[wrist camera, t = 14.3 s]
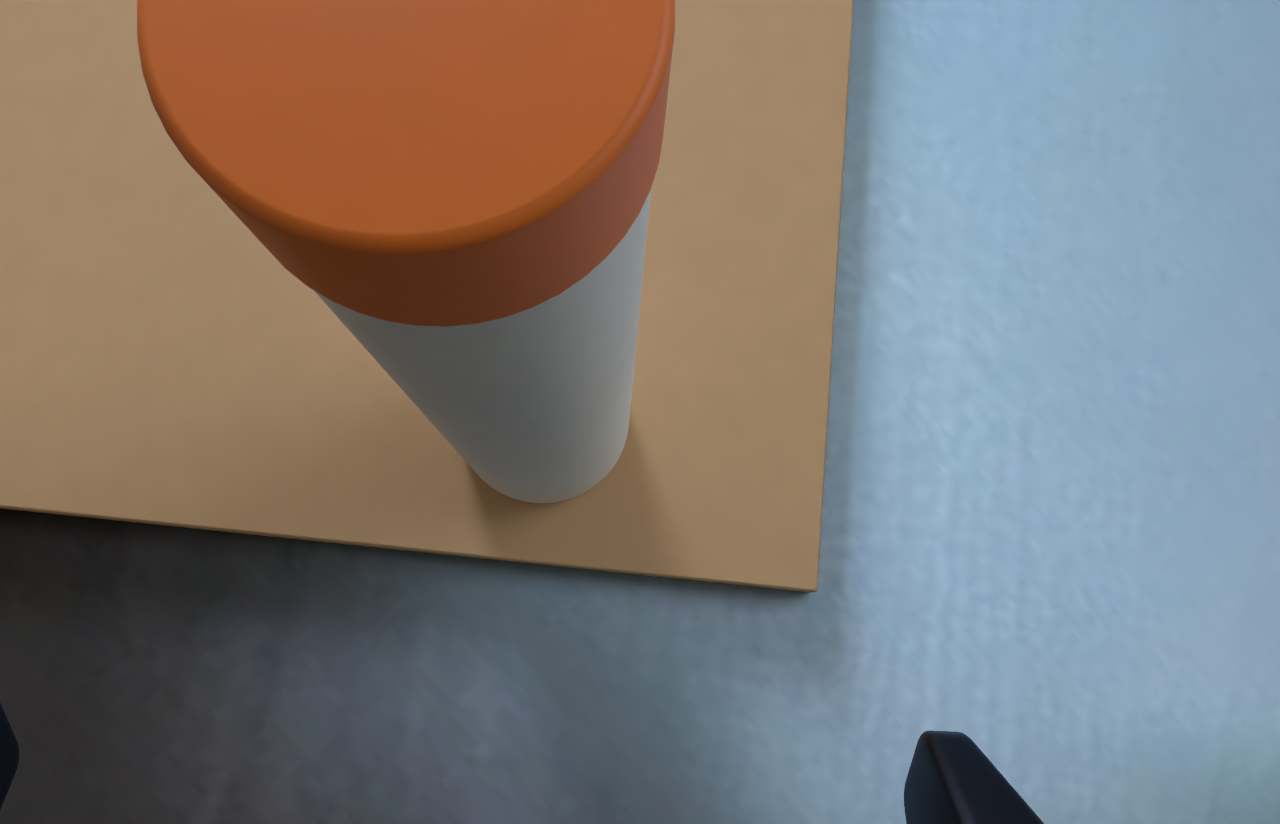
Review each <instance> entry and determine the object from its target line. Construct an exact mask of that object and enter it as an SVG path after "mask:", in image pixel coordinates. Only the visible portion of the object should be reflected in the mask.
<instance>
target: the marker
mask: <svg viewBox="0 0 1280 824" xmlns="http://www.w3.org/2000/svg"><path fill="white" fill-rule="evenodd" d="M674 33H675V0H137V39H138V47H139V53H140V60H141V66H142V72H143V76H144V79H145V82H146V85H147V88H148V92H149V95H150V98H151V101H152V104H153V106H154V108H155V110H156V112H157V114H158V116H159V118H160V120H161V122H162V124H163V126H164V128H165V130H166V132H167V134H168V136H169V137H170V138H171V140H172V141H173V143H174V144H175V146H176V147H177V148H178V150H179V151H180V153H181V154H182V156H183V157H184V159H185V160H186V161H187V162H188V163H189V164H190V166H191V167H192V168H193V169H194V170H195V171H196V172H197V173H198V174H199V175H200V176H201V178H202V179H203V180H204V181H205V182H206V183H207V184H208V185H209V186H210V187H211V188H212V190H213V191H214V192H215V193H216V194H217V195H218V196H219V197H220V198H221V199H222V200H223V202H224V203H225V204H226V205H227V206H228V207H229V208H230V209H231V210H232V211H233V212H234V214H235V215H236V216H237V217H238V218H239V219H240V220H241V221H242V222H243V223H244V224H245V226H246V227H247V228H248V229H249V230H250V231H251V232H252V233H253V234H254V235H255V236H256V238H257V239H258V240H259V241H260V242H261V243H262V244H263V245H264V246H265V247H266V248H267V250H268V251H269V252H270V253H271V254H272V255H273V256H274V257H275V258H276V259H277V260H278V261H279V262H280V263H281V265H282V266H283V267H284V268H285V269H286V270H288V271H289V272H290V273H291V274H293V275H294V276H295V277H296V278H298V279H299V280H300V281H301V282H303V283H304V284H305V285H306V286H308V287H309V288H311V289H313V290H314V291H315V292H316V294H317V295H318V296H319V297H320V298H321V299H322V300H323V301H324V303H325V304H326V305H327V306H328V307H329V308H330V309H331V310H332V312H333V313H334V314H335V315H336V316H337V317H338V318H339V319H340V321H341V322H342V323H343V324H344V325H345V326H346V327H347V328H348V330H349V331H350V332H351V333H352V334H353V335H354V336H355V337H356V338H357V340H358V341H359V342H360V343H361V344H362V345H363V346H364V347H365V349H366V350H367V351H368V352H369V353H370V354H371V355H372V356H373V358H374V359H375V360H376V361H377V362H378V363H379V364H380V365H381V367H382V368H383V369H384V370H385V371H386V372H387V373H388V374H389V376H390V377H391V378H392V379H393V380H394V381H395V382H396V383H397V385H398V386H399V387H400V388H401V389H402V390H403V391H404V392H405V394H406V395H407V396H408V397H409V398H410V399H411V400H412V401H413V403H414V404H415V405H416V406H417V407H418V408H419V409H420V410H421V412H422V413H423V414H424V415H425V416H426V417H427V418H428V419H429V420H430V422H431V423H432V424H433V425H434V426H435V427H436V428H437V429H438V431H439V432H440V433H441V434H442V435H443V436H444V437H445V438H446V440H447V441H448V442H449V443H450V444H451V445H452V446H453V447H454V449H455V450H456V451H457V452H458V453H459V454H460V455H461V456H462V458H463V459H464V460H465V461H466V462H467V463H468V464H469V465H470V467H471V468H472V469H473V470H474V471H475V472H476V473H477V474H478V475H479V476H480V478H481V479H482V480H483V481H484V482H486V483H487V484H488V485H489V486H491V487H492V488H493V489H495V490H497V491H498V492H500V493H502V494H504V495H506V496H508V497H511V498H513V499H517V500H520V501H524V502H530V503H554V502H560V501H564V500H568V499H571V498H573V497H576V496H579V495H581V494H582V493H584V492H586V491H588V490H590V489H591V488H592V487H594V486H595V485H597V484H598V483H599V482H600V481H601V480H602V479H603V478H604V477H605V476H607V474H608V473H609V472H610V471H611V469H612V468H613V467H614V465H615V464H616V462H617V460H618V459H619V457H620V455H621V453H622V451H623V448H624V446H625V442H626V439H627V435H628V428H629V419H630V409H631V398H632V387H633V377H634V366H635V356H636V345H637V334H638V324H639V313H640V302H641V292H642V281H643V271H644V260H645V249H646V239H647V228H648V218H649V207H650V196H651V187H652V184H653V181H654V178H655V175H656V171H657V168H658V165H659V160H660V154H661V147H662V141H663V134H664V125H665V115H666V106H667V97H668V88H669V79H670V69H671V60H672V51H673V42H674Z"/></svg>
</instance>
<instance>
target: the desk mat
mask: <svg viewBox="0 0 1280 824" xmlns="http://www.w3.org/2000/svg"><path fill="white" fill-rule="evenodd" d="M853 4H854V0H675V33H674V42H673V51H672V60H671V69H670V79H669V88H668V97H667V106H666V115H665V125H664V134H663V141H662V147H661V154H660V160H659V165H658V168H657V171H656V175H655V178H654V181H653V184H652V187H651V196H650V207H649V218H648V228H647V239H646V249H645V260H644V271H643V281H642V292H641V302H640V313H639V324H638V334H637V345H636V356H635V366H634V377H633V387H632V398H631V409H630V419H629V428H628V435H627V439H626V442H625V446H624V448H623V451H622V453H621V455H620V457H619V459H618V460H617V462H616V464H615V465H614V467H613V468H612V469H611V471H610V472H609V473H608V474H607V476H605V477H604V478H603V479H602V480H601V481H600V482H599V483H598V484H597V485H595V486H594V487H592V488H591V489H590V490H588V491H586V492H584V493H582V494H581V495H579V496H576V497H573V498H571V499H568V500H564V501H560V502H554V503H530V502H524V501H520V500H517V499H513V498H511V497H508V496H506V495H504V494H502V493H500V492H498V491H497V490H495V489H493V488H492V487H491V486H489V485H488V484H487V483H486V482H484V481H483V480H482V479H481V478H480V476H479V475H478V474H477V473H476V472H475V471H474V470H473V469H472V468H471V467H470V465H469V464H468V463H467V462H466V461H465V460H464V459H463V458H462V456H461V455H460V454H459V453H458V452H457V451H456V450H455V449H454V447H453V446H452V445H451V444H450V443H449V442H448V441H447V440H446V438H445V437H444V436H443V435H442V434H441V433H440V432H439V431H438V429H437V428H436V427H435V426H434V425H433V424H432V423H431V422H430V420H429V419H428V418H427V417H426V416H425V415H424V414H423V413H422V412H421V410H420V409H419V408H418V407H417V406H416V405H415V404H414V403H413V401H412V400H411V399H410V398H409V397H408V396H407V395H406V394H405V392H404V391H403V390H402V389H401V388H400V387H399V386H398V385H397V383H396V382H395V381H394V380H393V379H392V378H391V377H390V376H389V374H388V373H387V372H386V371H385V370H384V369H383V368H382V367H381V365H380V364H379V363H378V362H377V361H376V360H375V359H374V358H373V356H372V355H371V354H370V353H369V352H368V351H367V350H366V349H365V347H364V346H363V345H362V344H361V343H360V342H359V341H358V340H357V338H356V337H355V336H354V335H353V334H352V333H351V332H350V331H349V330H348V328H347V327H346V326H345V325H344V324H343V323H342V322H341V321H340V319H339V318H338V317H337V316H336V315H335V314H334V313H333V312H332V310H331V309H330V308H329V307H328V306H327V305H326V304H325V303H324V301H323V300H322V299H321V298H320V297H319V296H318V295H317V294H316V292H315V291H314V290H313V289H311V288H309V287H308V286H306V285H305V284H304V283H303V282H301V281H300V280H299V279H298V278H296V277H295V276H294V275H293V274H291V273H290V272H289V271H288V270H286V269H285V268H284V267H283V266H282V265H281V263H280V262H279V261H278V260H277V259H276V258H275V257H274V256H273V255H272V254H271V253H270V252H269V251H268V250H267V248H266V247H265V246H264V245H263V244H262V243H261V242H260V241H259V240H258V239H257V238H256V236H255V235H254V234H253V233H252V232H251V231H250V230H249V229H248V228H247V227H246V226H245V224H244V223H243V222H242V221H241V220H240V219H239V218H238V217H237V216H236V215H235V214H234V212H233V211H232V210H231V209H230V208H229V207H228V206H227V205H226V204H225V203H224V202H223V200H222V199H221V198H220V197H219V196H218V195H217V194H216V193H215V192H214V191H213V190H212V188H211V187H210V186H209V185H208V184H207V183H206V182H205V181H204V180H203V179H202V178H201V176H200V175H199V174H198V173H197V172H196V171H195V170H194V169H193V168H192V167H191V166H190V164H189V163H188V162H187V161H186V160H185V159H184V157H183V156H182V154H181V153H180V151H179V150H178V148H177V147H176V146H175V144H174V143H173V141H172V140H171V138H170V137H169V136H168V134H167V132H166V130H165V128H164V126H163V124H162V122H161V120H160V118H159V116H158V114H157V112H156V110H155V108H154V106H153V104H152V101H151V98H150V95H149V92H148V88H147V85H146V82H145V79H144V76H143V72H142V66H141V60H140V53H139V47H138V39H137V0H0V508H1V509H11V510H20V511H30V512H40V513H49V514H59V515H69V516H78V517H88V518H97V519H107V520H117V521H126V522H136V523H146V524H155V525H165V526H175V527H184V528H194V529H203V530H213V531H223V532H232V533H242V534H252V535H261V536H271V537H280V538H290V539H300V540H309V541H319V542H329V543H338V544H348V545H358V546H367V547H377V548H386V549H396V550H406V551H415V552H425V553H435V554H444V555H454V556H463V557H473V558H483V559H492V560H502V561H512V562H521V563H531V564H541V565H550V566H560V567H569V568H579V569H589V570H598V571H608V572H618V573H627V574H637V575H647V576H656V577H666V578H675V579H685V580H695V581H704V582H714V583H724V584H733V585H743V586H752V587H762V588H772V589H781V590H791V591H801V592H810V593H811V592H816V591H817V585H818V569H819V552H820V536H821V520H822V504H823V488H824V472H825V456H826V440H827V423H828V407H829V391H830V375H831V359H832V343H833V327H834V310H835V294H836V278H837V262H838V246H839V230H840V214H841V198H842V181H843V165H844V149H845V133H846V117H847V101H848V85H849V69H850V52H851V36H852V20H853Z"/></svg>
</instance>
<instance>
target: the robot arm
mask: <svg viewBox="0 0 1280 824" xmlns="http://www.w3.org/2000/svg"><path fill="white" fill-rule="evenodd" d="M18 761H19V747H18V743H17V740H16V738H15V735H14V733H13V731H12V729H11V726H10V724H9V722H8V719H7V717H6V715H5V712H4V710H3V708H2V705H1V703H0V809H1V807H2V804H3V802H4V799H5V797H6V795H7V792H8V790H9V787H10V785H11V782H12V780H13V777H14V775H15V772H16V769H17V765H18ZM904 806H905V815H906V822H907V824H1044V823H1043V822H1042V821H1041V820H1040V818H1039V817H1038V816H1037V815H1036V814H1035V813H1034V811H1033V810H1032V809H1031V808H1030V807H1029V806H1028V805H1027V803H1026V802H1025V801H1024V800H1023V799H1022V798H1021V796H1020V795H1019V794H1018V793H1017V792H1016V791H1015V790H1014V788H1013V787H1012V786H1011V785H1010V784H1009V783H1008V781H1007V780H1006V779H1005V778H1004V777H1003V776H1002V774H1001V773H1000V772H999V771H998V770H997V769H996V768H995V766H994V765H993V764H992V763H991V762H990V761H989V759H988V758H987V757H986V756H985V755H984V754H983V752H982V751H981V750H980V749H979V748H978V747H977V746H976V744H975V743H974V742H973V741H972V740H971V739H970V738H969V737H968V736H966V735H965V734H963V733H960V732H949V731H925V732H924V733H923V734H922V735H921V736H920V738H919V740H918V743H917V746H916V750H915V753H914V756H913V759H912V763H911V766H910V769H909V773H908V776H907V779H906V783H905V789H904Z"/></svg>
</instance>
